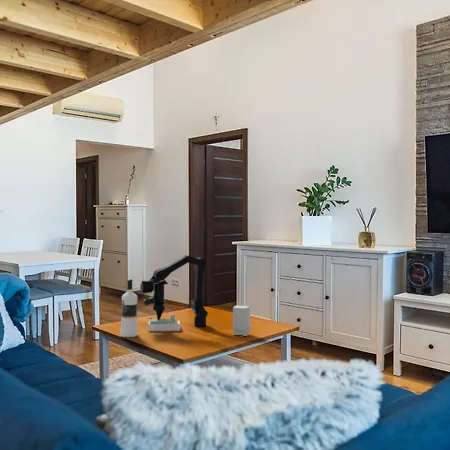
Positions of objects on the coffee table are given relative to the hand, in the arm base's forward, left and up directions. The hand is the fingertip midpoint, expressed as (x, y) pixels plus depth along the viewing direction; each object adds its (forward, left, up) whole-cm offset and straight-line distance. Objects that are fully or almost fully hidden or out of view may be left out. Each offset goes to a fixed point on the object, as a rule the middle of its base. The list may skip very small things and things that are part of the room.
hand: (158, 319), depth 263 cm
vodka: (+16, +13, -6) cm, 21 cm away
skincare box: (-45, +16, -6) cm, 48 cm away
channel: (-3, 0, -5) cm, 6 cm away
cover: (-2, 0, -1) cm, 2 cm away
